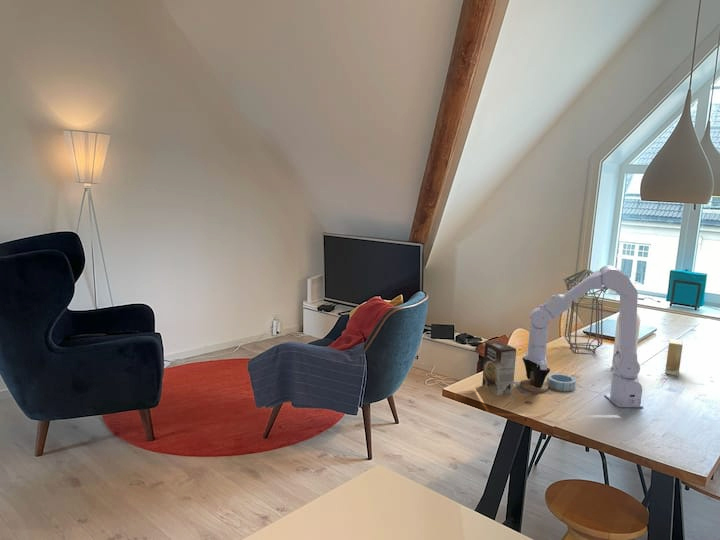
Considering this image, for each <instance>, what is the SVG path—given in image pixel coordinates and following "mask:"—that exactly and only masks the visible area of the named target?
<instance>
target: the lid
mask: <svg viewBox="0 0 720 540" xmlns="http://www.w3.org/2000/svg"><path fill="white" fill-rule="evenodd" d="M519 382H520V387H521V388H522V389H524V390H526V391H529V392H534V393H543V392H547V391H548V389H549V386H548V385H547V382H544V383H543V386H542V388H535V385H534V374H533V371H532V372H530V379H527V378H526V379H523V380H520V381H519Z"/></svg>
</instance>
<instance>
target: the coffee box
mask: <svg viewBox="0 0 720 540" xmlns="http://www.w3.org/2000/svg"><path fill="white" fill-rule="evenodd" d="M516 359H517V348H515V347H513V346H511V345H508V344H507V343H505V342H503V341H501V340H498V341H486V342H484V355H483V367H482V368H483V372H482V384H481V385H482V387H483V388H484V389H486V390H487V391H490V392H492V393H493V394H494V395H496V396H503V395H505V396H506V395H511V394H513V393H514V385H515V384H514V382H515V380H514V379H515V372H516V371H515V370H516V369H515V368H516Z"/></svg>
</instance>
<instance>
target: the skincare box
mask: <svg viewBox="0 0 720 540" xmlns="http://www.w3.org/2000/svg"><path fill="white" fill-rule="evenodd" d="M683 343H684V342H683V340H681V339H673V338H669V339H668V345H667V346H668V347H667V356H666V363H665V369H664V370H665V375H671V376H677V377H678V376H679V375H680V368H681V360H682V354H683V353H682V352H683Z"/></svg>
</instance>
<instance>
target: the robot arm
mask: <svg viewBox="0 0 720 540" xmlns="http://www.w3.org/2000/svg"><path fill="white" fill-rule="evenodd" d="M593 272H594V273H592V274H591V273H590V275H589V276H588V277H587V276H586V277H587V278H585V277H584V278H583V279H582V281H581V282H579V283H578V284H577V283H576V284H577V285H574V286H575V287H574V286H572V288H571V290H570V291H569V290H568V291H567V292H566V293H564V294H561V293H558V294H556V295H555V294H552V295H551V296H550V298H549V300H547V301H546V302H545V303H543V304H542V303H539V305H538V307H536V308H533V309H532V310H531V312H530V314H529V319H530V325H529V331H528V343H527V344H528V345H527V348H528V349H526V351H525V355H523V357H522V361H523V364H524V367H525V374H526V379H530V372H532V371H533V374H534V385H535V388H542V386H543V383H545V380H546V379H547V376H548V375H549V373H550V371H551V369H550V368H549V367H548V364H547V357H546V354H547V345H548V343H547V342H548V326H549V325H550V323H551V320H554V319H556V318H557V317H559V316H560V315H562V314H563V313H565V312H566V311H568V309H569V310H570V309H571V308H570V307H571V304H572V301H574V302H575V300H577V298H581V297H582V296H584V295H585V293H589V291H590V292H591V291H593V289H594V290H600V289H603V287H602V286H605V287H607V288H608V289H609V290H611V291H614V292H615V293H616V294H617V295H618V296H619V309H618V310H619V312H618V313H619V314H618V315H619V335H618V345H617V348H616V353H615V354H614V356H613V355H612V360H613V363H614V364H615V366H616V367H615V369H612V374H611V375H612V376H611V383H610V393H604V396H605V397H606V398H607V399H608V400H609V401H611V402H612V403H613V404H614V405H615V406H617V407H618V408H644V405H643V404H642V395H643V386H642V384H641V383H640V382H639V379H638V376H639V374H640V371H641V366H640V363H639V362H638V353H637V352H636V347H635V345H636V321H637V314H638V296H639V295H638V294H639V292H638V290H637V289H636V287H635V285H634V284H633V283H632V282H631V280H630V279H629V276H627V274H625V273H623V272H622V270H620V269H618V268H617V267H615V266H613V265H610V264H608V265H607V264H606V265H604V266H602V267H601V268H600V269H599V270H597V269H596V270H595V271H593ZM608 289H607V290H608Z"/></svg>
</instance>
